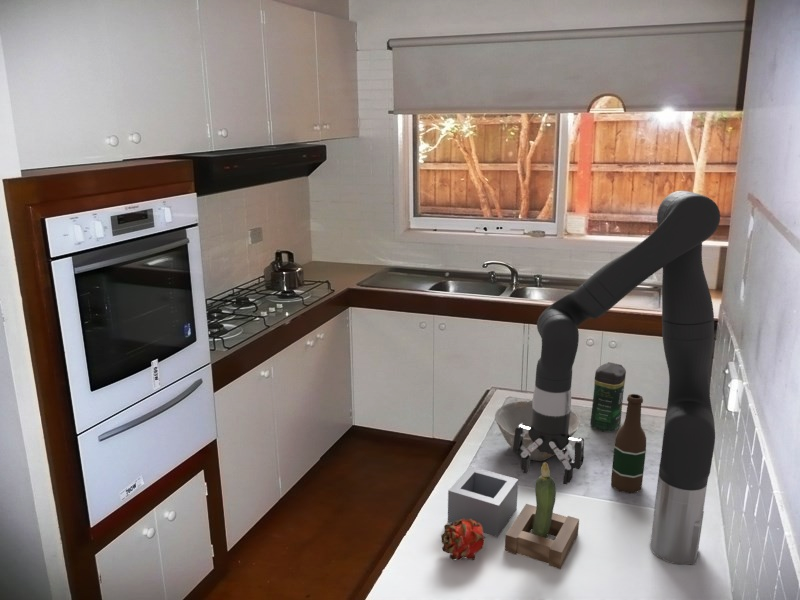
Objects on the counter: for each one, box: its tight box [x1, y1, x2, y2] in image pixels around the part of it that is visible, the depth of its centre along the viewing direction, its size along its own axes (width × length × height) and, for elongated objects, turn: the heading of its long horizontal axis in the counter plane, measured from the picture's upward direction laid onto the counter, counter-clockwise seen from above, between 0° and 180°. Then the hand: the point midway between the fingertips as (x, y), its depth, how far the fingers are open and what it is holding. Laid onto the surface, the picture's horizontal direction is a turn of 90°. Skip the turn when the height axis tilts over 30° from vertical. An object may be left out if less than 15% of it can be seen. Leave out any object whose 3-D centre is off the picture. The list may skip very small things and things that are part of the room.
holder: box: [447, 465, 519, 539], centre depth 154 cm, size 12×12×8 cm
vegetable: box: [532, 462, 557, 539], centre depth 143 cm, size 4×4×20 cm
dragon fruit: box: [440, 518, 486, 561], centre depth 141 cm, size 8×8×12 cm
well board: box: [504, 503, 580, 570], centre depth 145 cm, size 12×13×4 cm
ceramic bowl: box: [494, 400, 581, 462], centre depth 182 cm, size 22×23×10 cm
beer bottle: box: [610, 393, 647, 494], centre depth 164 cm, size 8×8×24 cm
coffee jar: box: [589, 362, 627, 433], centre depth 195 cm, size 10×8×19 cm
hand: (545, 477), depth 141 cm, fingers open, 8 cm apart
